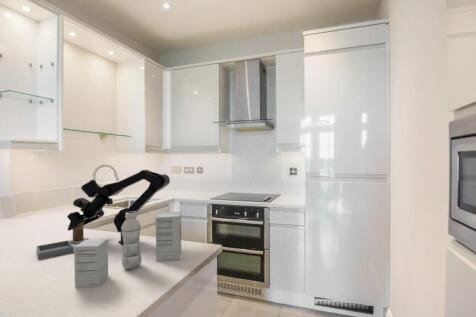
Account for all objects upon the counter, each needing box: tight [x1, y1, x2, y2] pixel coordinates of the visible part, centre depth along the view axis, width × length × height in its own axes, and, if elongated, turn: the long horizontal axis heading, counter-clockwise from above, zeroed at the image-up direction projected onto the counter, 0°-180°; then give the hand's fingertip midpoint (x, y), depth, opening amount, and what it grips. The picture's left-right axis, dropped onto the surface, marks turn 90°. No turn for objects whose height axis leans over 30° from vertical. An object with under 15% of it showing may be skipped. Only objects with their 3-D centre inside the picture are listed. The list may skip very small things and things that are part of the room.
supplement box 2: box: [155, 211, 182, 262], centre depth 103 cm, size 10×9×17 cm
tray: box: [36, 239, 74, 260], centre depth 109 cm, size 12×12×2 cm
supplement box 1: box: [73, 238, 109, 288], centre depth 82 cm, size 7×7×13 cm
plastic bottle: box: [121, 211, 142, 270], centre depth 92 cm, size 6×7×20 cm
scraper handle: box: [69, 223, 89, 245], centre depth 122 cm, size 6×6×12 cm
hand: (75, 227), depth 123 cm, fingers open, 9 cm apart
